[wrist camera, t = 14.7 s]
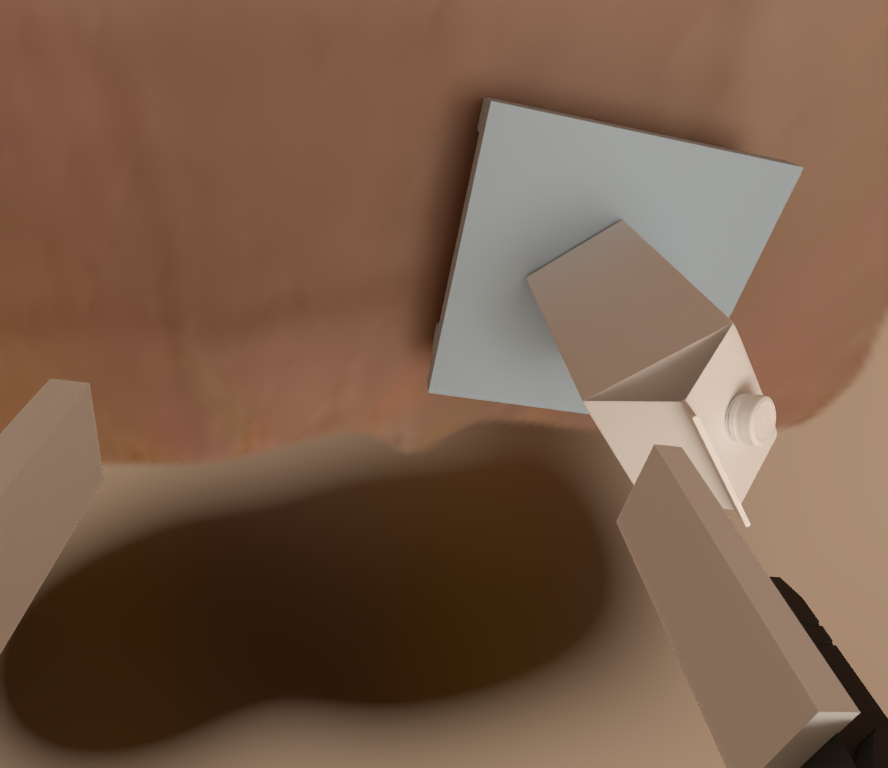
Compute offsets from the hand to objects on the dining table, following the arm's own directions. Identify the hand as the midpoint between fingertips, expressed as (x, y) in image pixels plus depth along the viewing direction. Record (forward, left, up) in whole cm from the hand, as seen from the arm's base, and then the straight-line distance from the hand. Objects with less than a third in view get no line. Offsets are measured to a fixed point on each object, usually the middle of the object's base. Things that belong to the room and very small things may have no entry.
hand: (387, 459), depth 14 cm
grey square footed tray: (+14, -4, -32) cm, 36 cm away
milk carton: (+14, -4, -26) cm, 29 cm away
